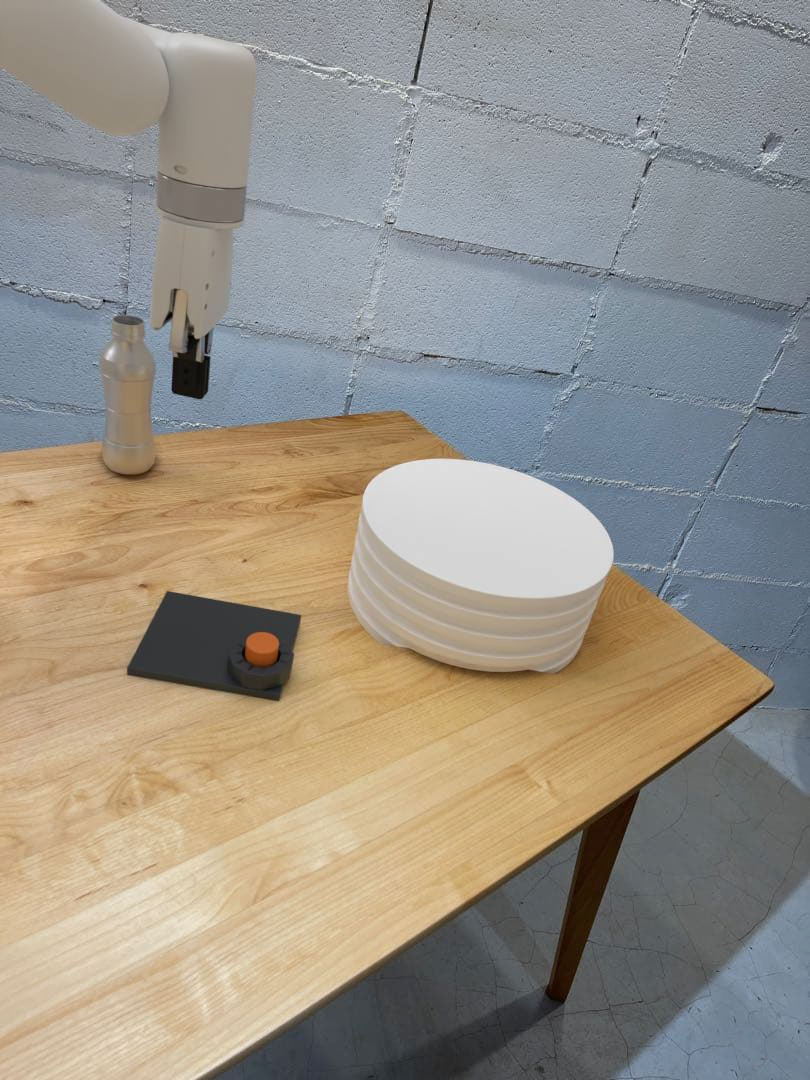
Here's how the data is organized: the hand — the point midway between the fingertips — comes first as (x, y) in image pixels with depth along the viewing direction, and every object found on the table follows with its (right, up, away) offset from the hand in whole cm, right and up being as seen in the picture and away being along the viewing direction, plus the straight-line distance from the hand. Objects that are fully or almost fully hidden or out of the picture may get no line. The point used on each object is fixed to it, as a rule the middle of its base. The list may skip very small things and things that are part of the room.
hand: (189, 393), depth 81 cm
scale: (+3, -26, -1) cm, 26 cm away
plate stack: (+28, -22, +15) cm, 39 cm away
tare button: (+8, -25, -5) cm, 27 cm away
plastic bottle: (-15, -5, +26) cm, 30 cm away
